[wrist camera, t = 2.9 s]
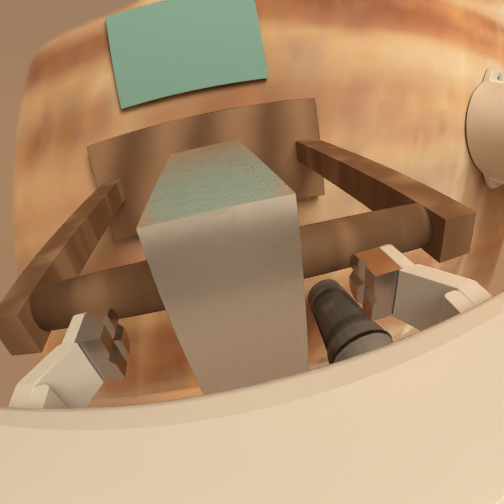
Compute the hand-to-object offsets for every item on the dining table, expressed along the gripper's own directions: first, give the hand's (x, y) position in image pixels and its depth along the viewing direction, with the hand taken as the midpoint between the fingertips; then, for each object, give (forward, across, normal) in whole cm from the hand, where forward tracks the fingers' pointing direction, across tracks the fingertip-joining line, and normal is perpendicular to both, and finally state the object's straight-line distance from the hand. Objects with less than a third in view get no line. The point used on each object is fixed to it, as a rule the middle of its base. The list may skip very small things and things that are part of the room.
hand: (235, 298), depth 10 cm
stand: (+22, 0, 0) cm, 22 cm away
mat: (+22, 0, -12) cm, 25 cm away
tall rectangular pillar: (+10, 0, 0) cm, 10 cm away
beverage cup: (+22, -11, +19) cm, 31 cm away
